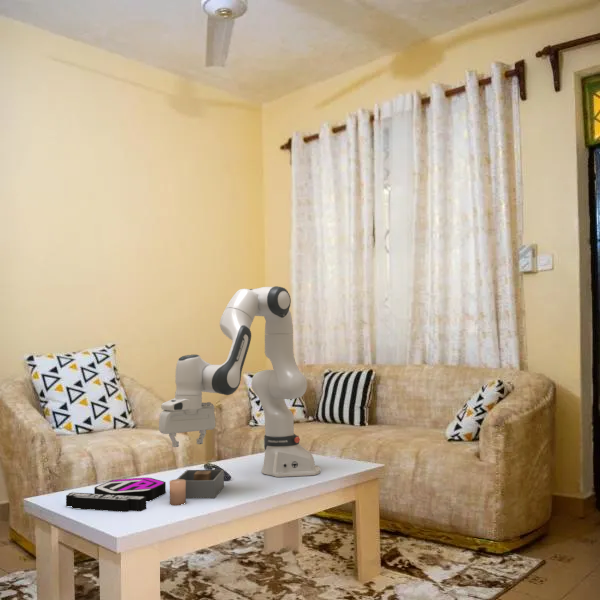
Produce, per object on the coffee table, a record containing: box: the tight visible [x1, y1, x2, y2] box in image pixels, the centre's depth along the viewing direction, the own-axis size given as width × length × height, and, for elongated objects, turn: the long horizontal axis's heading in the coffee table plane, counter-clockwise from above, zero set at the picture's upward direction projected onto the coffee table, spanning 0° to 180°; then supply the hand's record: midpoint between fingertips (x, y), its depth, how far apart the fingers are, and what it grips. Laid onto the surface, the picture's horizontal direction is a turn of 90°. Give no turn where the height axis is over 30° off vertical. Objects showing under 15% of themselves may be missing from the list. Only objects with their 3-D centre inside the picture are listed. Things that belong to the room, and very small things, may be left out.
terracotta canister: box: [169, 478, 187, 506], centre depth 203 cm, size 5×5×7 cm
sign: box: [65, 477, 167, 513], centre depth 211 cm, size 27×4×30 cm
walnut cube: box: [194, 471, 211, 481], centre depth 221 cm, size 5×5×5 cm
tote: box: [176, 469, 225, 499], centre depth 217 cm, size 13×17×6 cm
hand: (187, 445), depth 213 cm, fingers open, 8 cm apart
